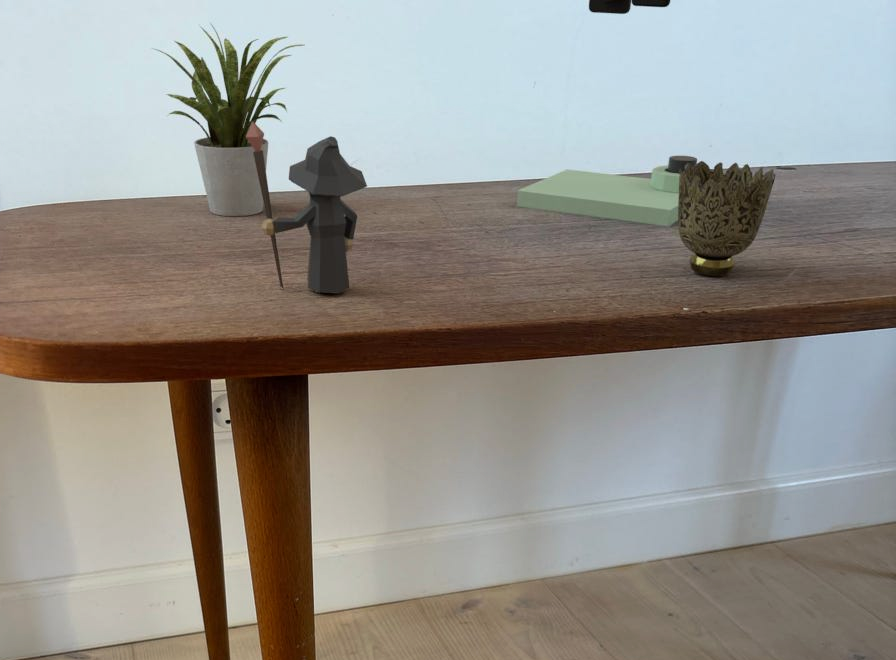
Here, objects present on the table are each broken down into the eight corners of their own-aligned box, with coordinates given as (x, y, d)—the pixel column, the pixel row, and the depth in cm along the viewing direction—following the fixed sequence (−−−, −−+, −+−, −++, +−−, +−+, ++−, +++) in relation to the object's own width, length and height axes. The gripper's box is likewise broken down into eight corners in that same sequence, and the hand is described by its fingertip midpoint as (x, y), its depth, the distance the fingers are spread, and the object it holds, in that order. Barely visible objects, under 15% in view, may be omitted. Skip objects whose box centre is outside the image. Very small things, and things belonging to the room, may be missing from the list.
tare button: (698, 173, 108) (700, 157, 107) (690, 178, 106) (692, 161, 105) (671, 170, 109) (674, 154, 109) (663, 175, 107) (665, 158, 107)
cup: (742, 290, 84) (762, 182, 79) (653, 276, 87) (668, 172, 82) (765, 268, 89) (785, 166, 85) (681, 256, 92) (696, 157, 88)
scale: (711, 201, 110) (716, 168, 109) (671, 227, 101) (677, 192, 99) (566, 184, 117) (569, 152, 115) (516, 207, 107) (518, 173, 105)
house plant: (336, 198, 109) (331, 16, 100) (301, 230, 98) (292, 27, 89) (205, 191, 111) (188, 12, 102) (156, 221, 100) (132, 23, 91)
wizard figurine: (349, 276, 86) (345, 113, 79) (378, 294, 81) (377, 124, 75) (252, 288, 82) (239, 119, 76) (277, 308, 78) (266, 131, 72)
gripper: (674, -292, 67) (639, 18, 77) (745, -257, 80) (706, 6, 89) (565, -285, 70) (544, 13, 80) (650, -252, 83) (622, 2, 92)
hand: (630, 9), depth 85 cm, fingers open, 9 cm apart
